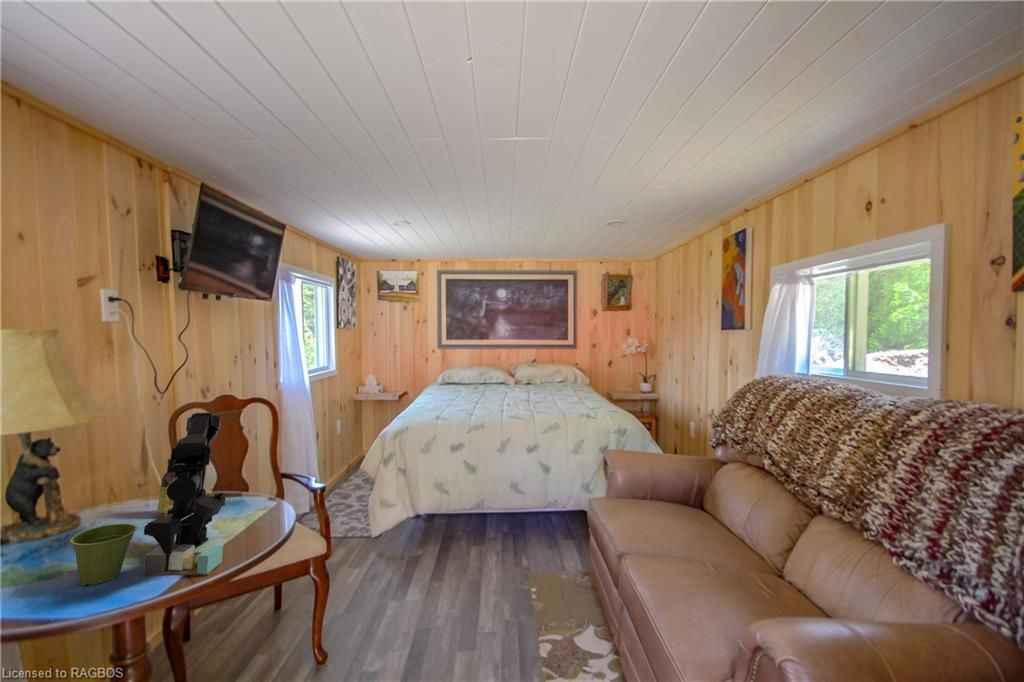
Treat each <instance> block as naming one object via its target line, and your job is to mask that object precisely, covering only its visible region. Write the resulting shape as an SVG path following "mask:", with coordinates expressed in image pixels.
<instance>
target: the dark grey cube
mask: <svg viewBox="0 0 1024 682" xmlns="http://www.w3.org/2000/svg"><path fill="white" fill-rule="evenodd" d="M178 546H180V545H175V544H173V549H175V548H177V547H178ZM167 556H169V555H165V553H164V552H163V550H162V548H161V547H160V545H159V546H158V547H155V548H154V549H153V550H151V551H149V552H148V553H146V554H145V555H144V562H143V564H144V565H143V573H144V572H156V573H164V572H165V571H166V564H167Z"/></svg>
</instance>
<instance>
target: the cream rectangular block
mask: <svg viewBox="0 0 1024 682" xmlns="http://www.w3.org/2000/svg"><path fill="white" fill-rule="evenodd" d="M194 547H195V545H180V546H178V547H177V548H175V549H173V550H172V553H171V555H169V556H167V564H166V569H168V570H192V569H194V568H195V567H196V566H198V557H199V555H200V554H202V552H201V551H199V552H198V551H197V552H196V551H195V549H194Z"/></svg>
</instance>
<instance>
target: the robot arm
mask: <svg viewBox="0 0 1024 682" xmlns="http://www.w3.org/2000/svg"><path fill="white" fill-rule="evenodd" d="M221 424H222V420H221V417H220V416H218V415H214V414H213V413H212V412H195V413H192V414H191V416H190V417H188V418H187V420H186V426H185V430H186V431H185V432H186V436H185V437H182V438H180V439H179V440H178V441H177V442H176V445H175V446H173V447H172V449H171V453H170V454H171V455H170V457H169V458H170V463H169V468H168V467H167V469H168V473H171V472H175V477H174V479H173V480H172V482H171V483H170V485H169V486H168V488H167V496H168V497H169V499H171V500H173V506H172V508H171V509H169V510H168V513H167V514H173V516H171V517H157V518H156V519H153V520H151V521H150V522H148V523H147V524H145V525H144V527H143V528H144V529H143V535H144V536H148V537H152V538H153V539H154V540H155V541H156V542H157V544H158V545H159V546H160V547H161V548H162V550H163V552H164V553H165V555H171V553H172V550H173V545H195V547H194V550H195V549H196V548H198V547H200V546H201V545H203V544H204V543H205V542H207V541H208V540H209V537H207V535H208V534H207V531H208V527H207V526H206V525H209V524H210V523H211V522H213V517H214V516H215V515H216V516H217V515H218V514H219V513H220V511H221V509H222V507H224V506H225V505H226V493H224V492H219V493H217V494H215V495H210V496H209V495H207V491H206V489H205V484H206V474H207V467H208V466H209V465H210V463H211V456H212V448H211V444H212V443H213V442H214V441H215V440H216V439H217V436H218V432H220V431H221ZM175 460H176V461H175ZM174 461H175V464H182V465H174ZM173 465H174V468H173Z"/></svg>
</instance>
